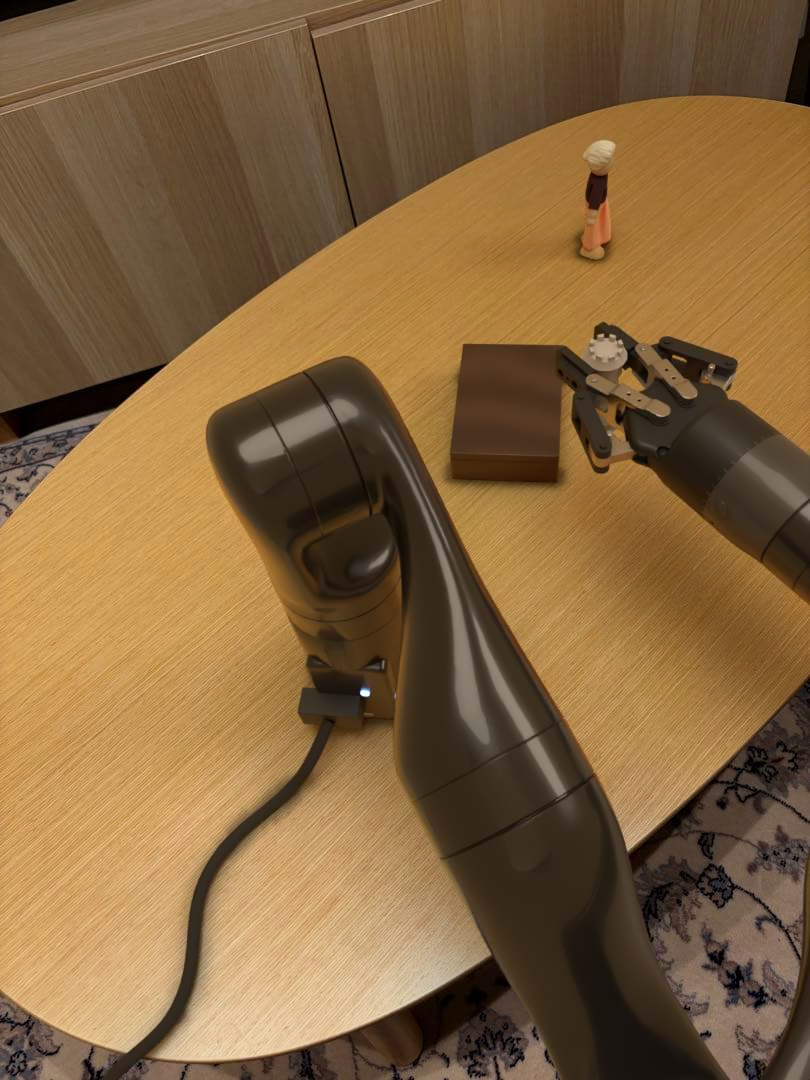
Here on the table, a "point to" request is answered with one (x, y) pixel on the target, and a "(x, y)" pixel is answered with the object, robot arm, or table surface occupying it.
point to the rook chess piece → (606, 362)
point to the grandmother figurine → (597, 199)
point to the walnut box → (507, 414)
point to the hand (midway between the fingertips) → (579, 344)
